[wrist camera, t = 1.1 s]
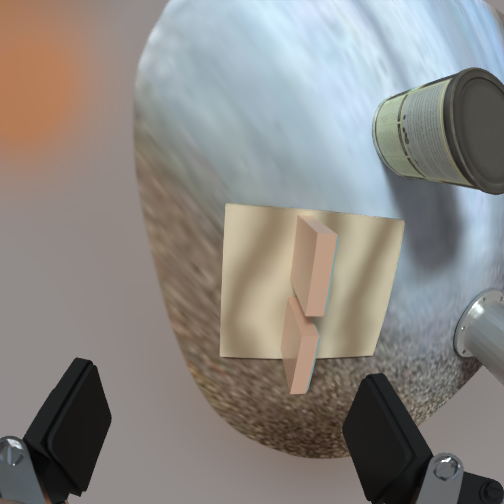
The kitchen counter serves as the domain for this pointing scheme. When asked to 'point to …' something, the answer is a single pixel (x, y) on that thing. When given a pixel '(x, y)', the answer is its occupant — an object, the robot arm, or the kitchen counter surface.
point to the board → (280, 287)
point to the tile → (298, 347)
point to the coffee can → (446, 131)
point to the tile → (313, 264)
